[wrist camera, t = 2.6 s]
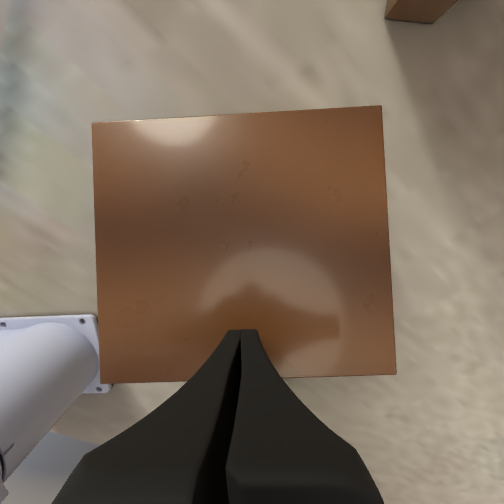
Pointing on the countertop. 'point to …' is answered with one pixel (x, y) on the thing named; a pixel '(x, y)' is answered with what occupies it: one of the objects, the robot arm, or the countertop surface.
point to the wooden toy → (417, 10)
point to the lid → (243, 242)
